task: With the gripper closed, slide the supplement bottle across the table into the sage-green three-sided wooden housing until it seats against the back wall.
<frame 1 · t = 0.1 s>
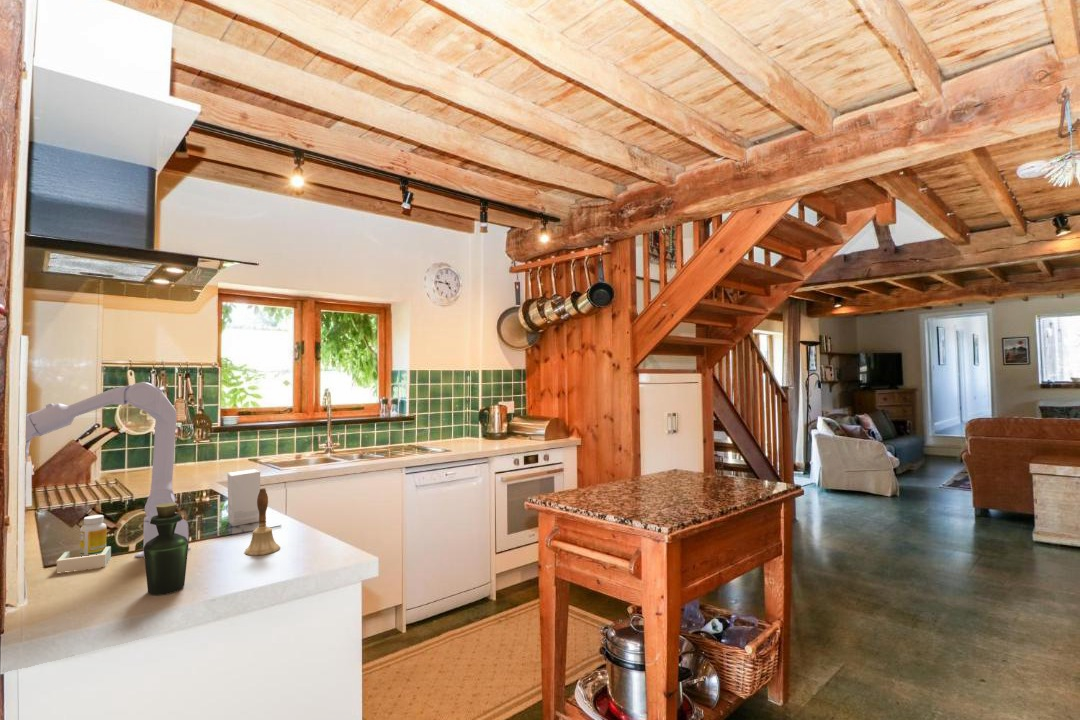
hand bell: (262, 551, 147), on the countertop
supplement bottle: (93, 555, 145), on the countertop
housing: (84, 566, 137), on the countertop
skincare box: (244, 522, 175), on the countertop
potion bottle: (166, 590, 121), on the countertop
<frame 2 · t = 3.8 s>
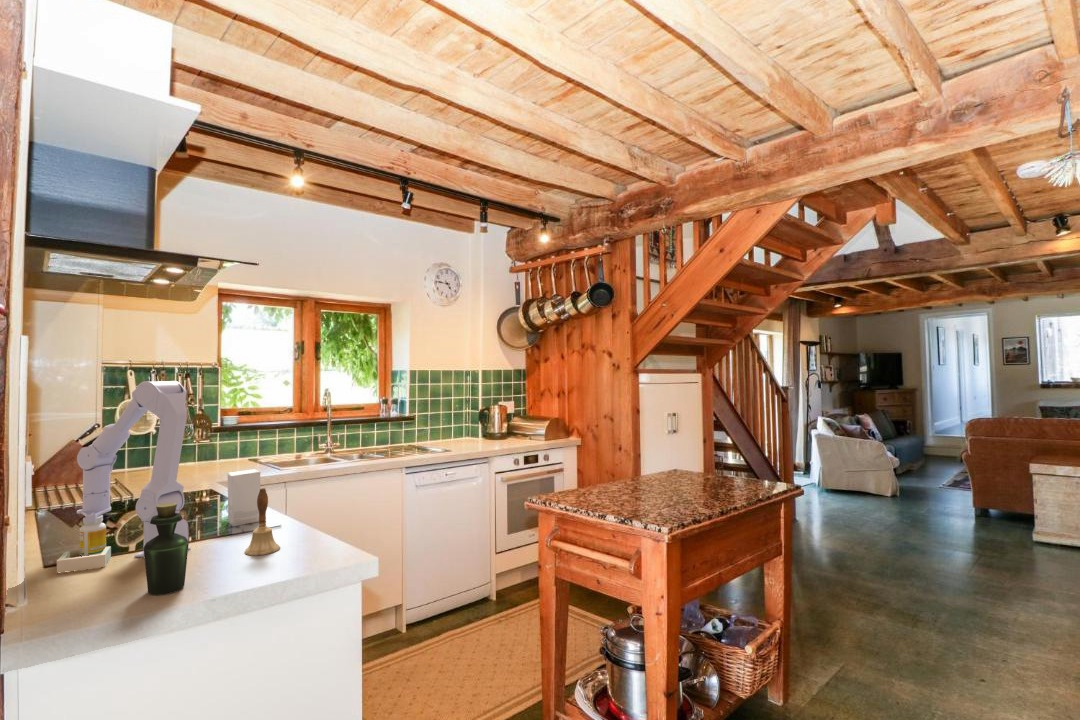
hand: (96, 544, 149), 2 cm above the countertop, tool pointing down, fingers closed
supplement bottle: (93, 554, 145), on the countertop, touching gripper
everything else where it was.
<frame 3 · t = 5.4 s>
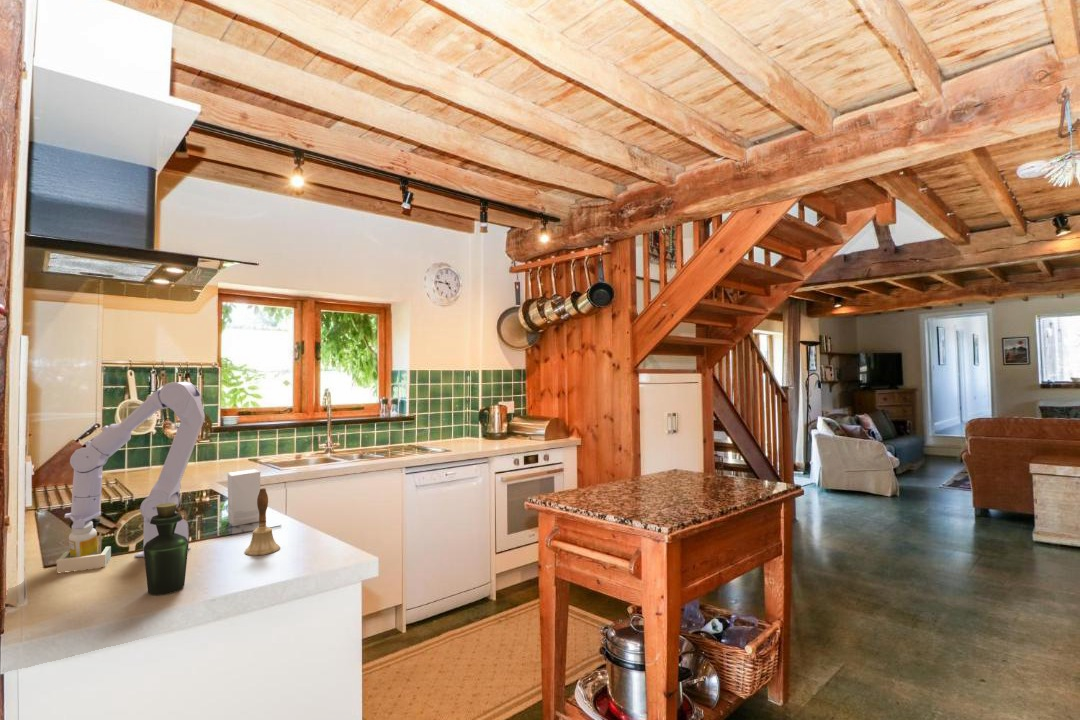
hand: (83, 550, 141), 2 cm above the countertop, tool pointing down, fingers closed, pressing on supplement bottle
supplement bottle: (85, 559, 140), on the countertop, touching gripper
everything else where it was.
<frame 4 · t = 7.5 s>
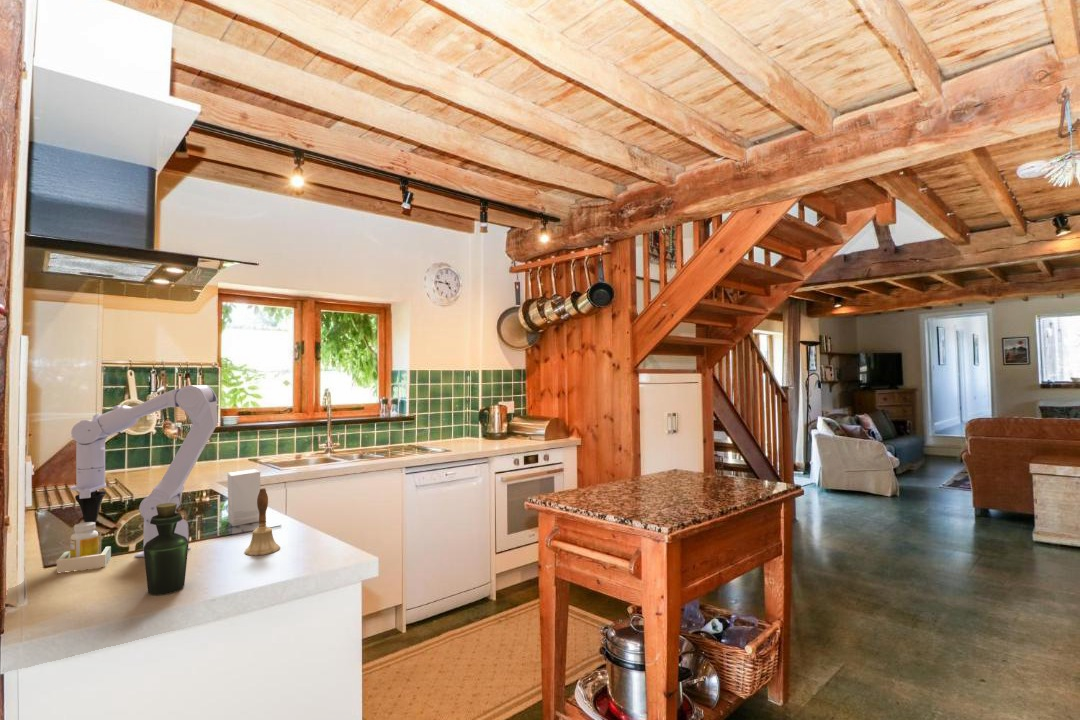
hand: (90, 522, 143), 9 cm above the countertop, tool pointing down, fingers closed
supplement bottle: (84, 564, 138), on the countertop
everything else where it was.
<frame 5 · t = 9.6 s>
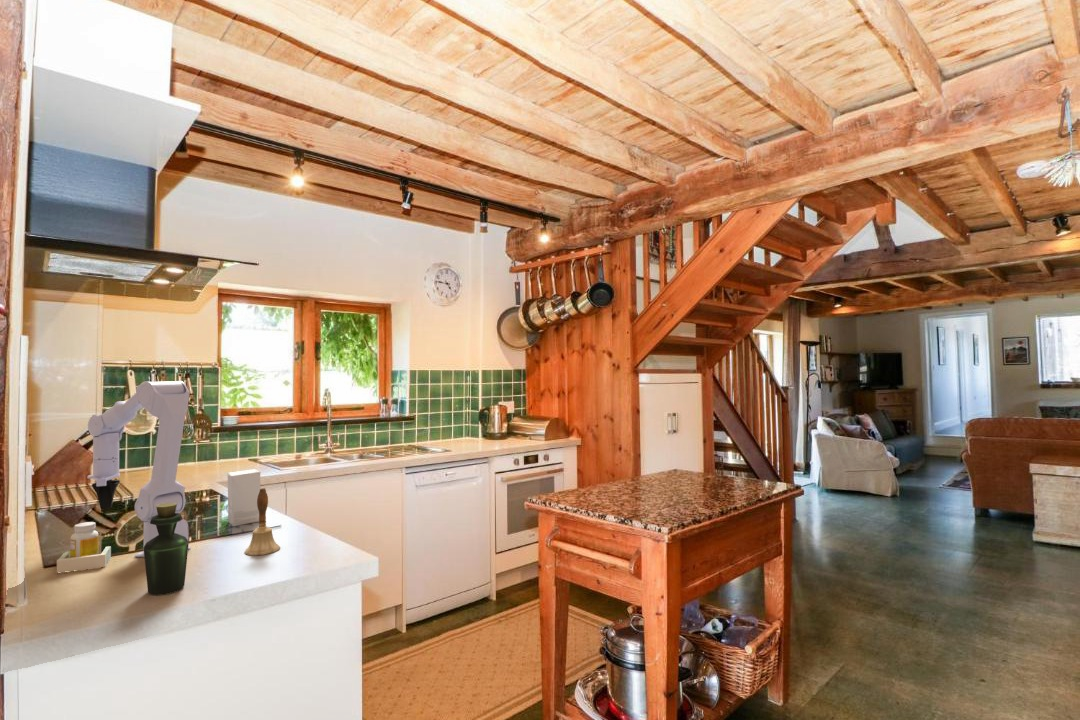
hand: (106, 508, 155), 9 cm above the countertop, tool pointing down, fingers closed
nothing on the countertop moved.
at the end: supplement bottle 2.2 cm off-centre on the housing, point 0.0 cm above the housing's base; supplement bottle tilted 0°; supplement bottle moved 7.9 cm from its start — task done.
